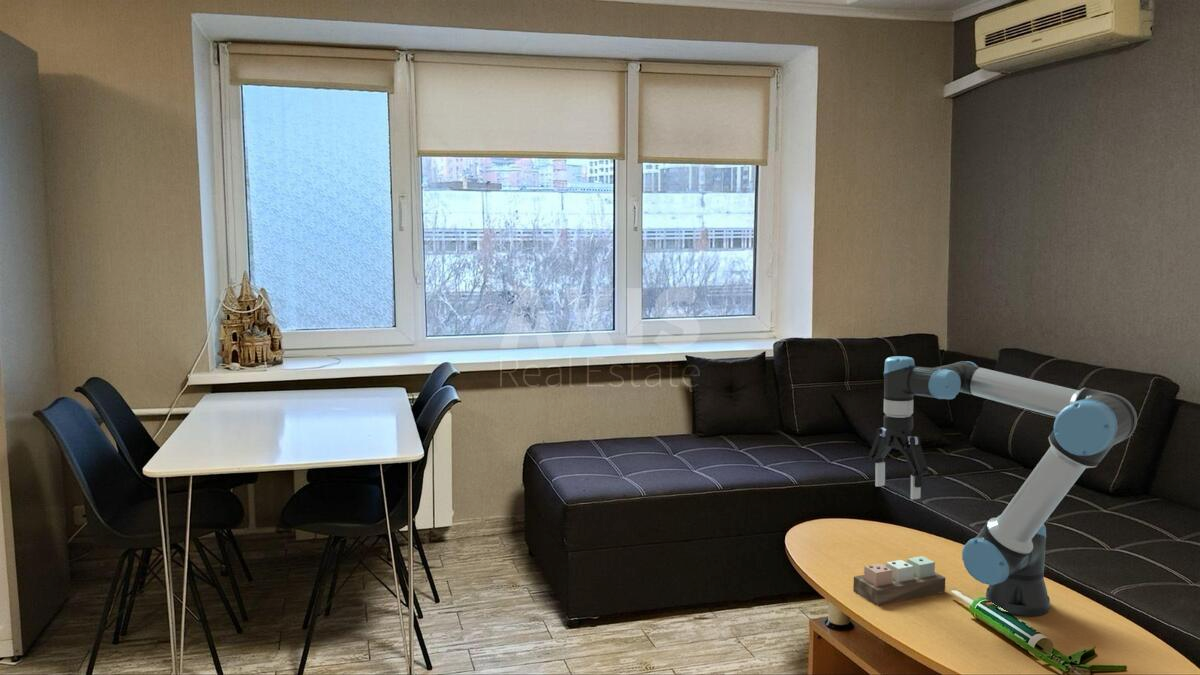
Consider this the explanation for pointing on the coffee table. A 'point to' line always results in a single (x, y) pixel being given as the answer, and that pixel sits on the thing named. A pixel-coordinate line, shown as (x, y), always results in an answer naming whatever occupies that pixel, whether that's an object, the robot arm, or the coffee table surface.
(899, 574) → the tile two
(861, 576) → the board
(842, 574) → the coffee table surface
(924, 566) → the tile one
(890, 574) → the tile three
